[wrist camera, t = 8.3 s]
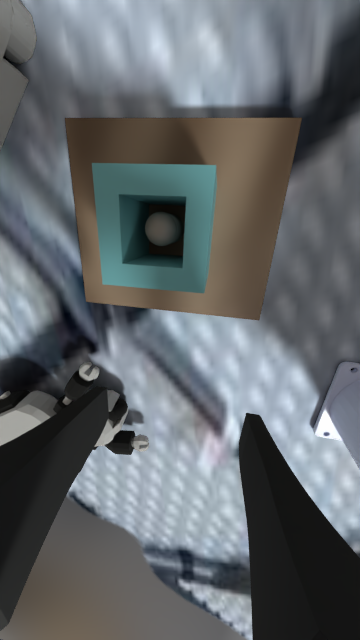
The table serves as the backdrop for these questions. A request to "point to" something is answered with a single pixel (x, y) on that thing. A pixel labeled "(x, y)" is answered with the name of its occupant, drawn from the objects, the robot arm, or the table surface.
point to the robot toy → (36, 407)
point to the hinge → (13, 58)
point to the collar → (132, 213)
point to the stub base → (169, 220)
